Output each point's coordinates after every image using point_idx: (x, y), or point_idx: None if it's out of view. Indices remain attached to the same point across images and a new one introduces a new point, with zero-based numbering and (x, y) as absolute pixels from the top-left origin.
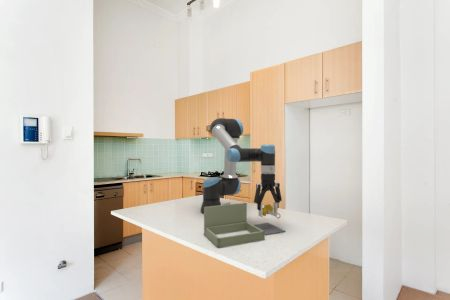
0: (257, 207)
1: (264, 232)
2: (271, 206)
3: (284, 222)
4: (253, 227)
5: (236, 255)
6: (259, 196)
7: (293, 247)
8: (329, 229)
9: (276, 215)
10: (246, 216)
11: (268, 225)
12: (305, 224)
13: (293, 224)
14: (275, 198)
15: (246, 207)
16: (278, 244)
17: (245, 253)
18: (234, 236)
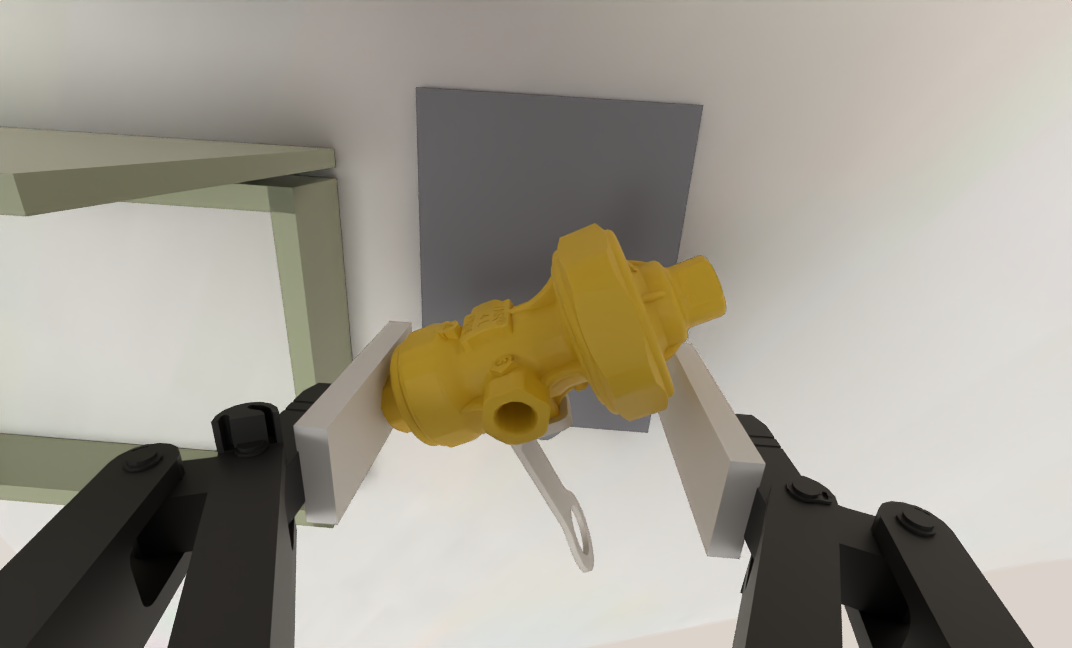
0: (288, 412)
1: None
2: (650, 403)
3: (930, 169)
4: (299, 371)
5: None
6: (189, 594)
7: (469, 636)
8: (1053, 550)
9: (570, 510)
10: (244, 181)
11: (622, 214)
12: (1049, 352)
13: (939, 288)
14: (737, 631)
15: (121, 200)
16: (410, 571)
17: None
18: (32, 501)
